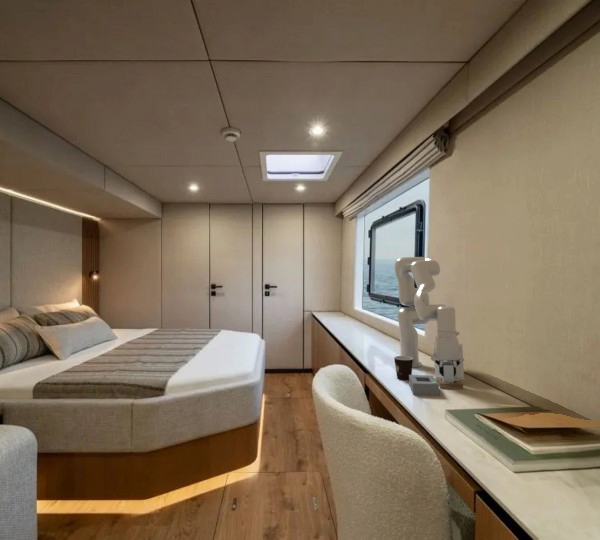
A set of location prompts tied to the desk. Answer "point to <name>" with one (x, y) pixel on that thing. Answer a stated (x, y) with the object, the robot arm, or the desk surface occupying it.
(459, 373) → the supplement box
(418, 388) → the port
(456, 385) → the brown wooden square base
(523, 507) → the desk surface
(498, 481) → the desk surface
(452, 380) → the plug
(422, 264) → the robot arm
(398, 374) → the coffee mug
